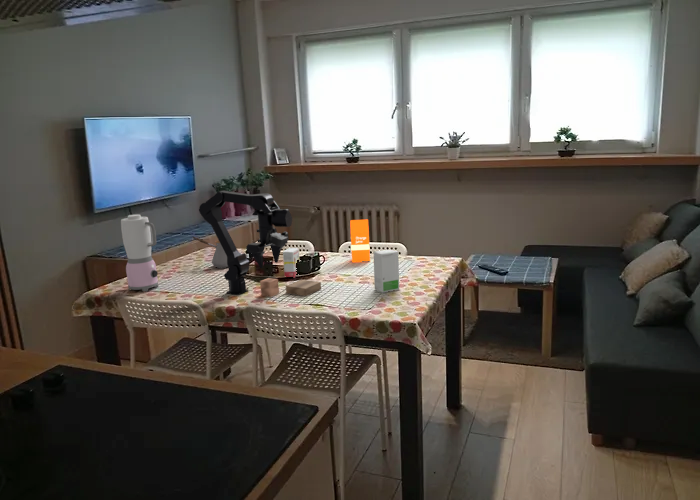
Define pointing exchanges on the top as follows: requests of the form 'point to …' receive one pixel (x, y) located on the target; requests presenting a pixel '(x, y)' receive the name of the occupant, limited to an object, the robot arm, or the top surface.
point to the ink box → (290, 261)
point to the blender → (139, 252)
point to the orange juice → (360, 240)
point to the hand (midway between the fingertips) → (269, 265)
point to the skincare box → (386, 270)
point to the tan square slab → (303, 287)
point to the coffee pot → (217, 254)
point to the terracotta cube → (269, 287)
